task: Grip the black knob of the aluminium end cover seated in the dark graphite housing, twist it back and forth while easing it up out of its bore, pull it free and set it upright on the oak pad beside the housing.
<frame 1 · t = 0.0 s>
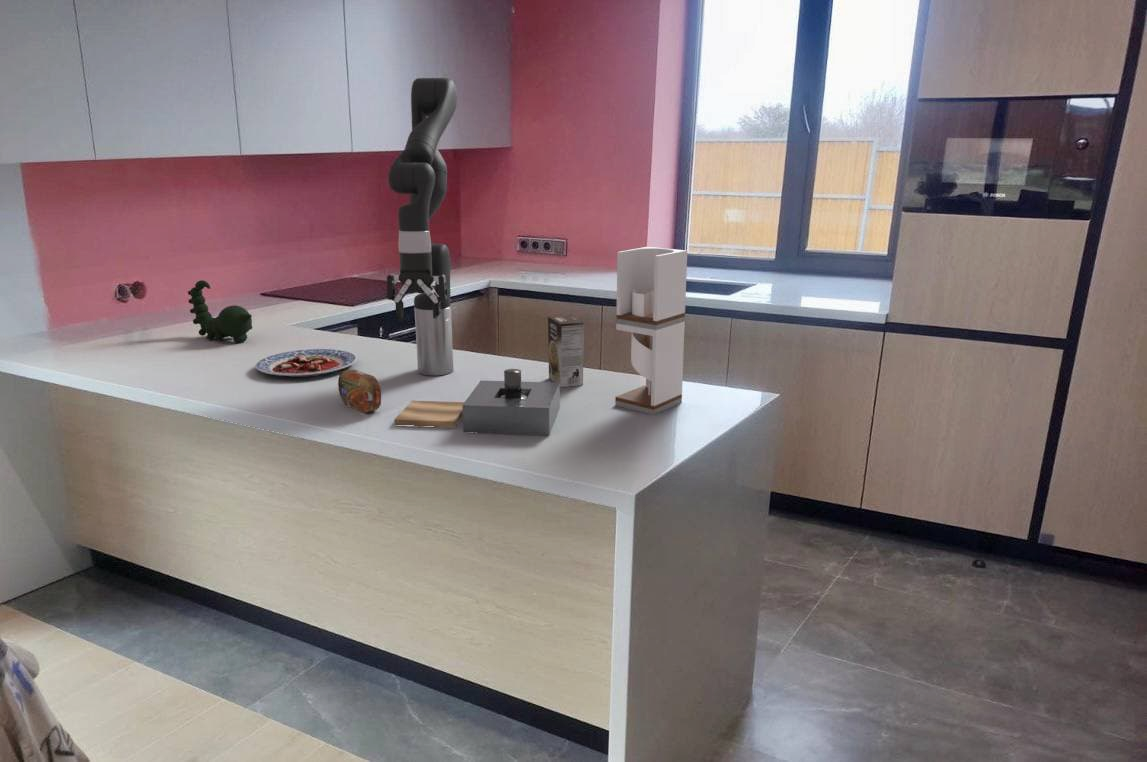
hand: (418, 317, 196), 17 cm above the worktop, tool pointing down, fingers open, 8 cm apart
white shelf stand: (648, 404, 187), on the worktop
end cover: (513, 411, 176), point 2 cm above the worktop, touching housing
coffee box: (565, 382, 204), on the worktop
housing: (513, 419, 176), on the worktop
toy figurine: (225, 340, 247), on the worktop
ceramic plate: (307, 369, 217), on the worktop
tin: (361, 408, 185), on the worktop
oak pad: (432, 417, 178), on the worktop
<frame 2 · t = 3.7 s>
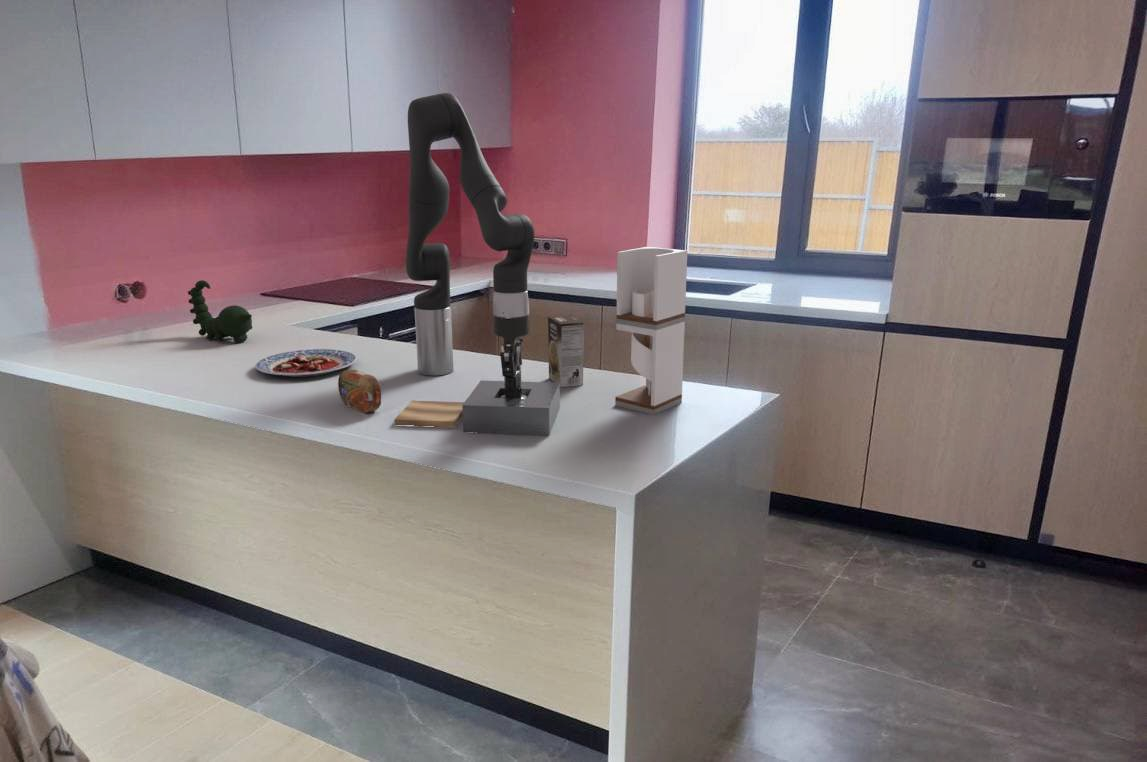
hand: (513, 390, 174), 7 cm above the worktop, tool pointing down, fingers closed on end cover, 3 cm apart
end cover: (513, 411, 176), point 2 cm above the worktop, touching gripper, housing
everything else where it was.
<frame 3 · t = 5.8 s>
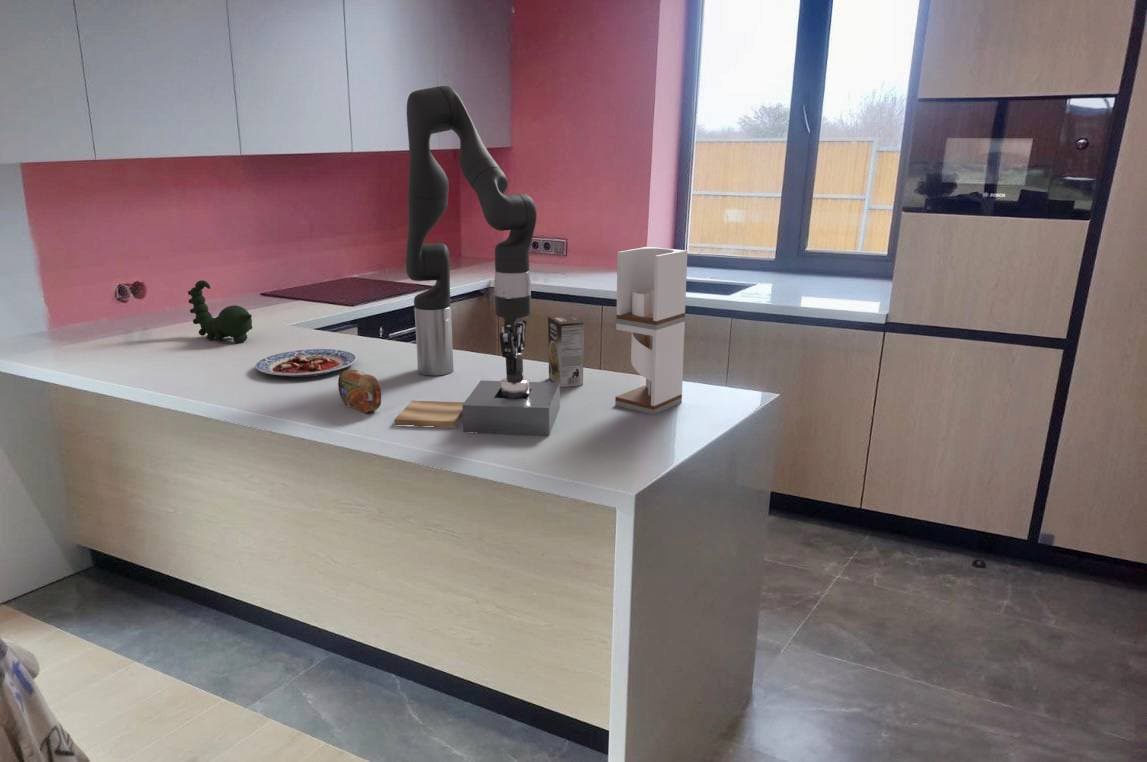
hand: (514, 371, 173), 11 cm above the worktop, tool pointing down, fingers closed on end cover, 3 cm apart
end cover: (515, 393, 175), point 6 cm above the worktop, touching gripper
everything else where it was.
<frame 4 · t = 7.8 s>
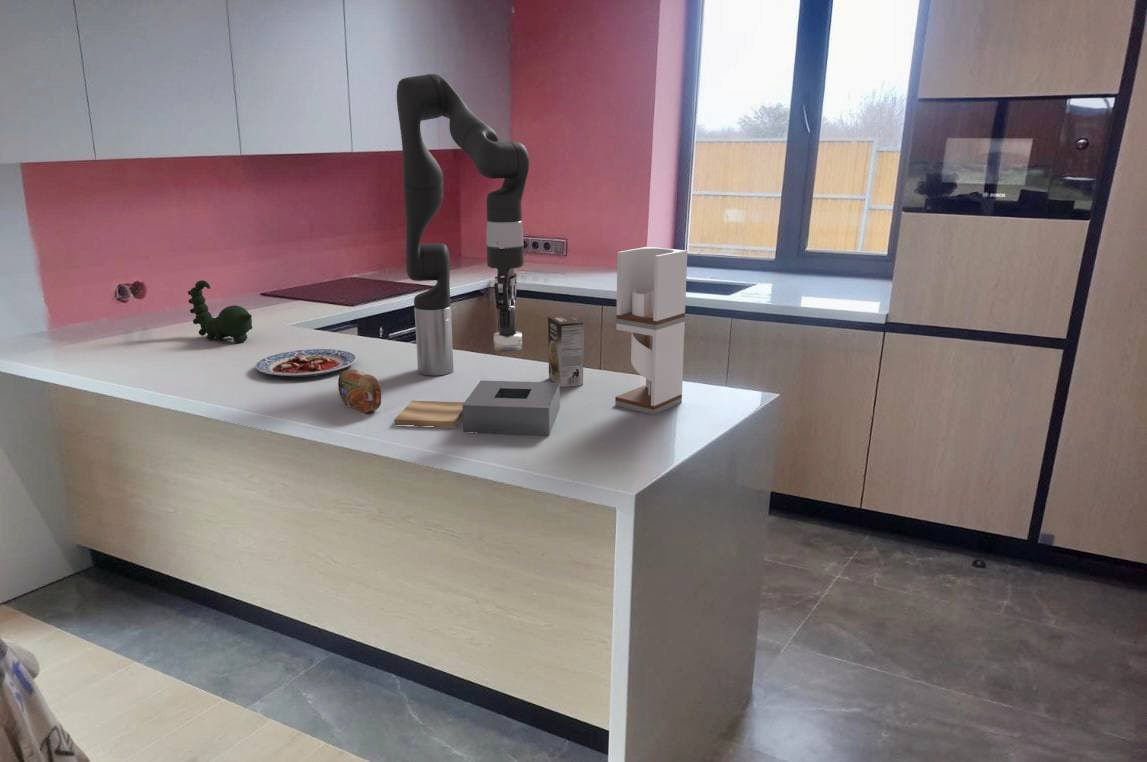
hand: (507, 325, 171), 21 cm above the worktop, tool pointing down, fingers closed on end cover, 3 cm apart
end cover: (508, 347, 172), point 16 cm above the worktop, touching gripper
everything else where it was.
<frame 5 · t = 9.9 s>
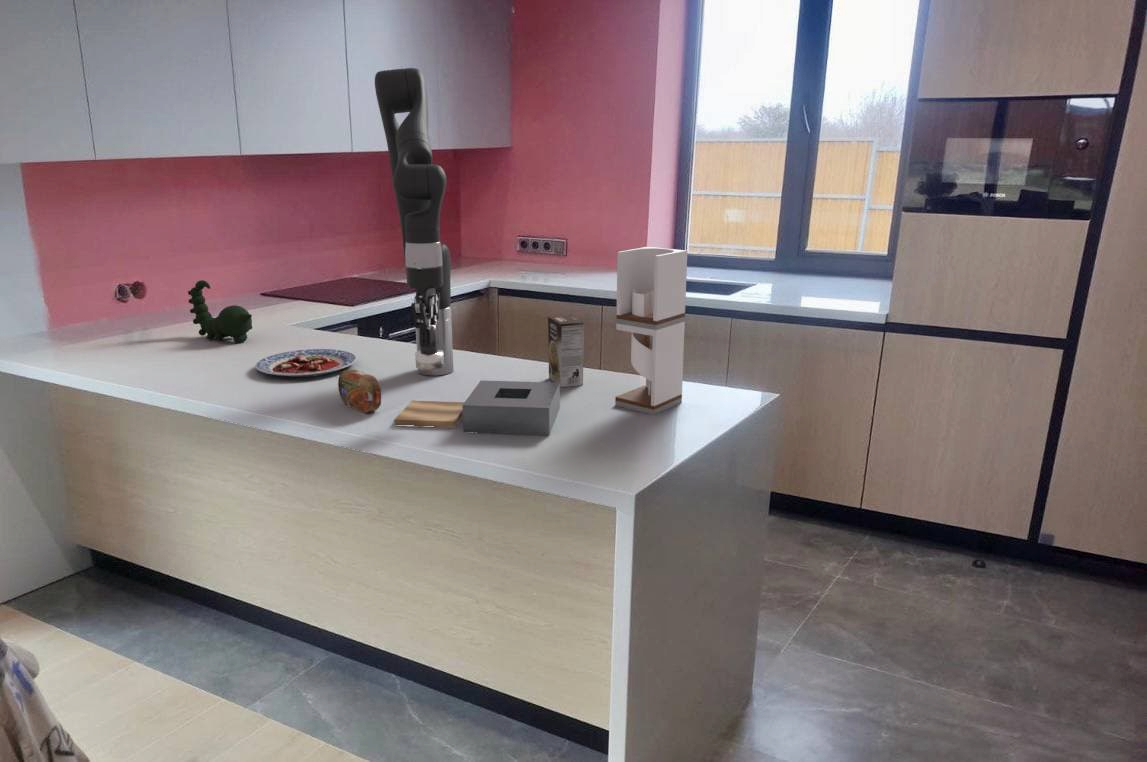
hand: (428, 343, 173), 17 cm above the worktop, tool pointing down, fingers closed on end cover, 3 cm apart
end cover: (430, 366, 175), point 12 cm above the worktop, touching gripper
everything else where it was.
when the fingers open (8 cm above the worktop, at t = 11.7 s): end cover drops 1 cm, resting on oak pad.
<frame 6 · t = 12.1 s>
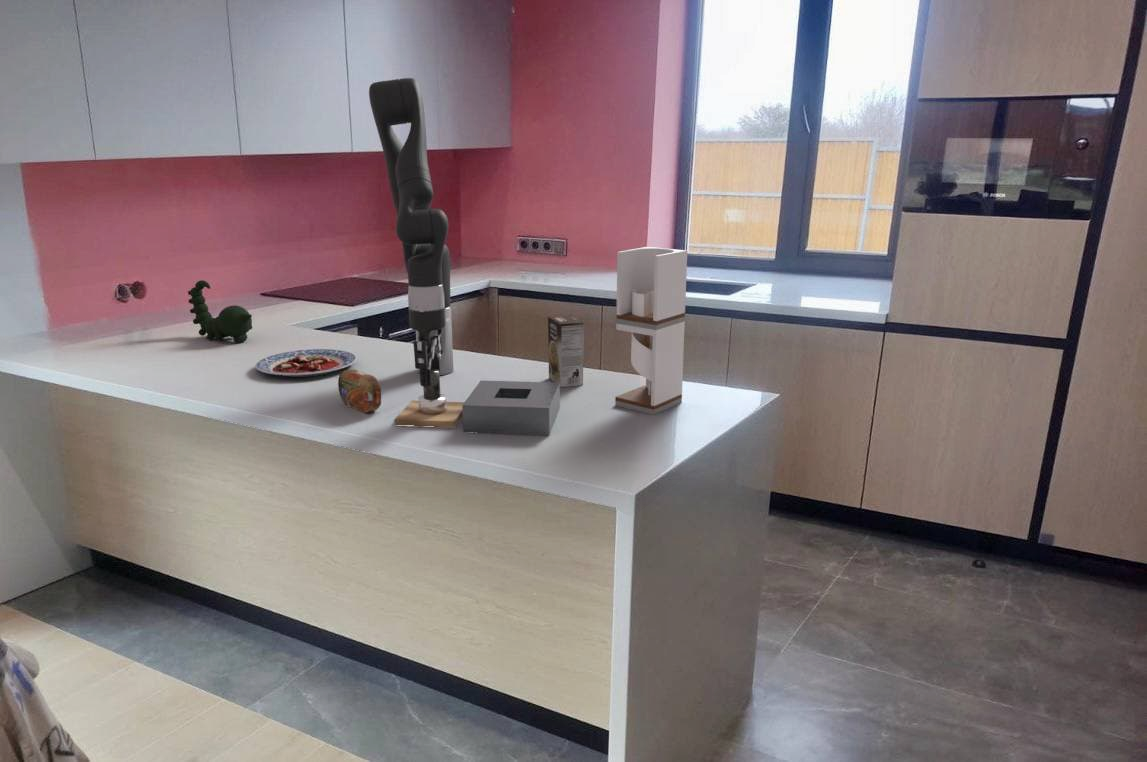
hand: (430, 380, 176), 8 cm above the worktop, tool pointing down, fingers open, 7 cm apart
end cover: (432, 410, 178), point 1 cm above the worktop, touching oak pad
everything else where it was.
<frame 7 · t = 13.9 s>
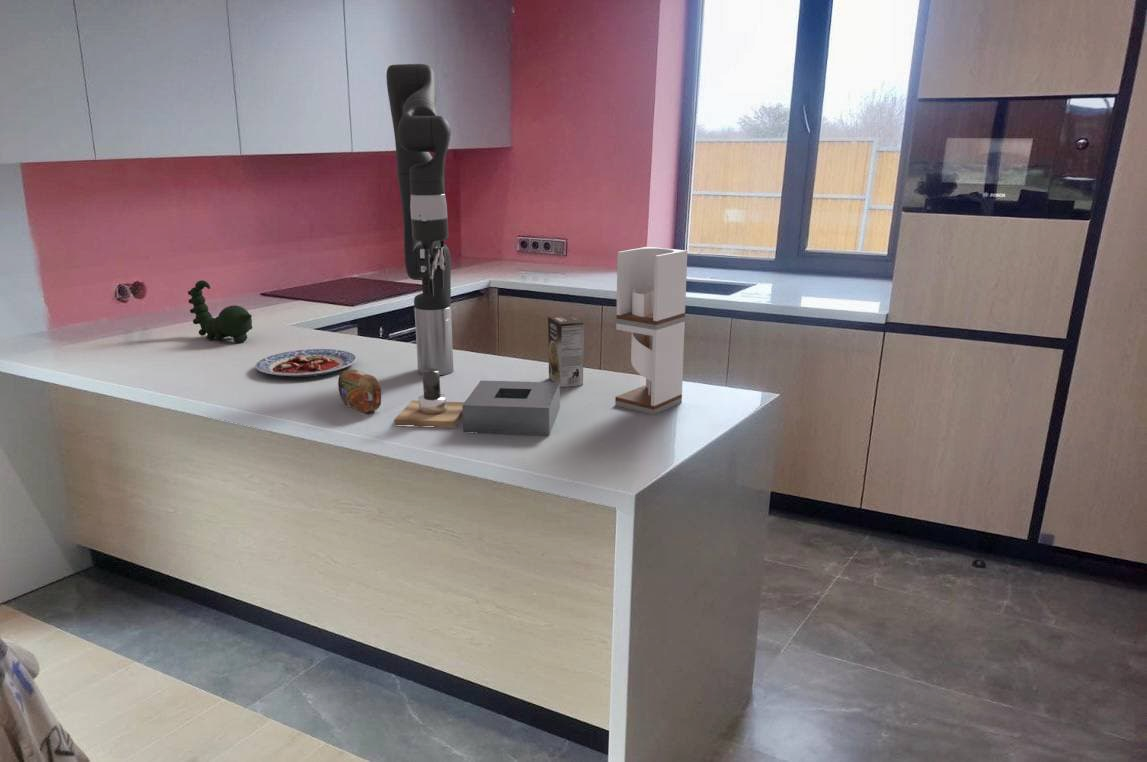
hand: (433, 292, 174), 27 cm above the worktop, tool pointing down, fingers open, 8 cm apart
nothing on the worktop moved.
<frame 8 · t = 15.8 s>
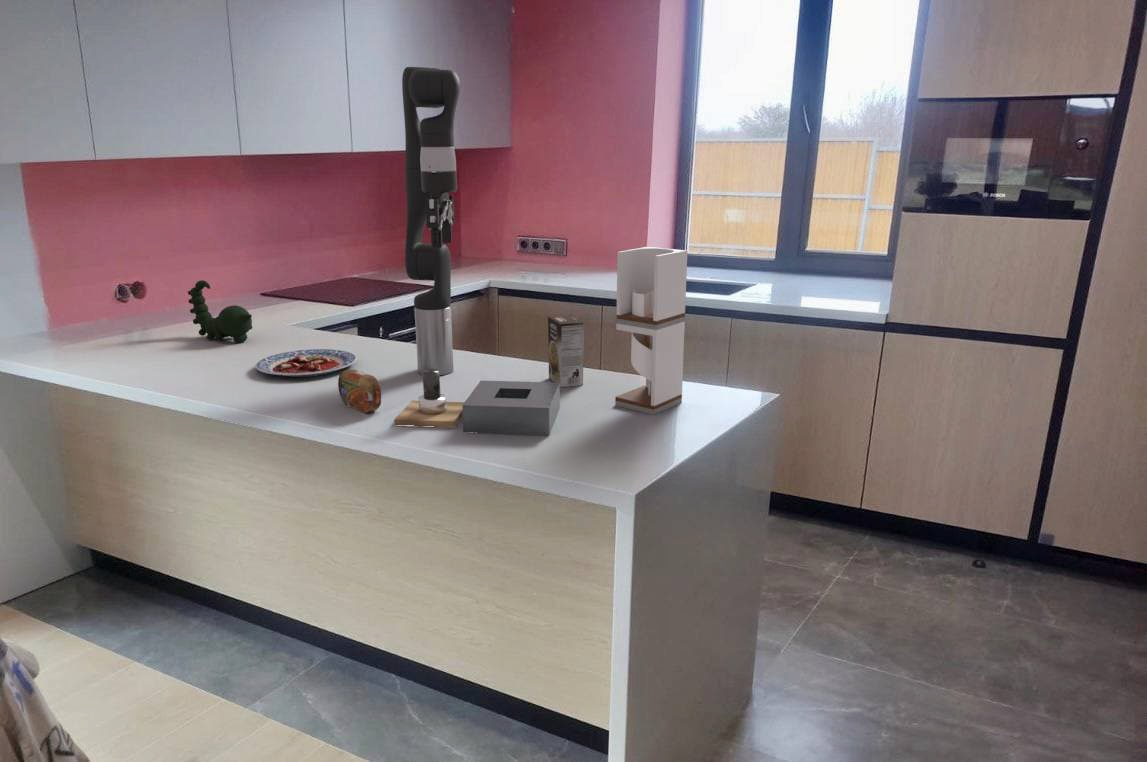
hand: (442, 245, 178), 36 cm above the worktop, tool pointing down, fingers open, 8 cm apart
nothing on the worktop moved.
at the end: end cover inside the target area on the oak pad (0.1 cm from its centre), point 1.5 cm above the oak pad's base; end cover tilted 0°; the gripper is holding nothing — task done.
